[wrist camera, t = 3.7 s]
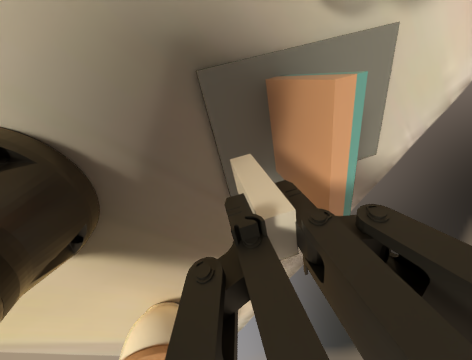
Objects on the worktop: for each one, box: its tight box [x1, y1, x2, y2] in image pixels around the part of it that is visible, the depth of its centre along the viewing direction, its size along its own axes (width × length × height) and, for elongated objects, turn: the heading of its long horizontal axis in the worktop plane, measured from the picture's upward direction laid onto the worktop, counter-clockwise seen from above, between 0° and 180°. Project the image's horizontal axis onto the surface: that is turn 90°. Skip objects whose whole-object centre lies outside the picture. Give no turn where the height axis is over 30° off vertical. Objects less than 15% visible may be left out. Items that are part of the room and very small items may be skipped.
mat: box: [196, 22, 400, 197], centre depth 21 cm, size 20×14×1 cm
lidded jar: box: [119, 302, 179, 360], centre depth 28 cm, size 11×11×9 cm
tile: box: [265, 71, 368, 216], centre depth 16 cm, size 2×10×10 cm, turn 13°
